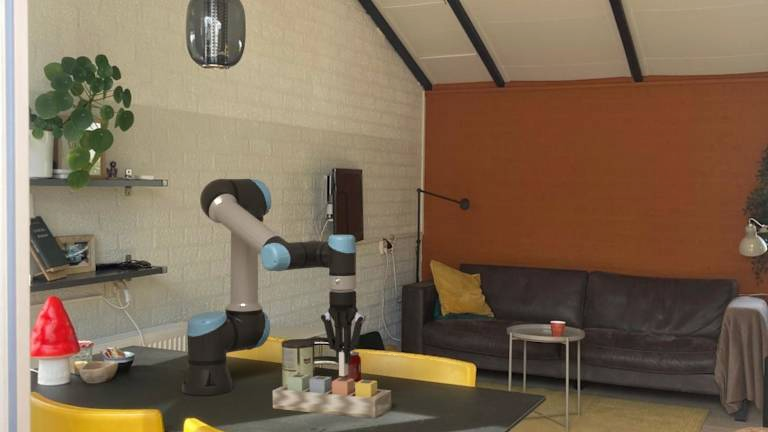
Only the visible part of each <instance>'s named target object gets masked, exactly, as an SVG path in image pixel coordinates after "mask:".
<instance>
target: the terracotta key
mask: <svg viewBox="0 0 768 432" xmlns="http://www.w3.org/2000/svg"><path fill="white" fill-rule="evenodd" d="M353 392H354V379H348V378H339V377H338V378H336V379H334V380H332V394H334V395H345V396H348V395H350V394H352V393H353Z"/></svg>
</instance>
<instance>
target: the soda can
mask: <svg viewBox="0 0 768 432" xmlns="http://www.w3.org/2000/svg"><path fill="white" fill-rule="evenodd" d="M359 354H360V353H359V352H358V351H355V350H352V351H351V362H350V363H349V364H348V374H347V375H345V376H339V375H338V378H348V379H354V387H355V383H357V382H359V381H361V380H362V358H361V356H360V355H359Z"/></svg>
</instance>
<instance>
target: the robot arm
mask: <svg viewBox="0 0 768 432" xmlns="http://www.w3.org/2000/svg"><path fill="white" fill-rule="evenodd" d="M270 192H271V191H270V190H269V188H268V187H267V185H266V184H265V183H264V182H263V181H261V180H258V179H251V178H218V179H215V180H212V181H210V182H208V183H207V184H206V185H205V187H204V188H203V189H202V191H201V193H200V198H199V202H200V207H201V210H202V212H203V213H204V214H205V215H206V217H208V219H210V220H211V221H212V222H214V223H216V224H221V225H223V226H224V227H225V228H227V230H229V231H230V301H229V304H227V305H226V306H225V312H224V311H220V310H219V311H218V310H217V311H216V310H215V311H205V312H201V313H198V314H195V315H192V316H191V317H190V318H189V319H188V321H187V329H186V335H187V339H186V340H187V367H186V370H185V374H184V377H183V380H182V383H181V388H182V389H181V392H182V393H183V394H186V395H191V396H212V395H214V396H215V395H221V394H226V393H229V392H230V391H232V390H233V379H232V377H231V373H230V371H229V367H228V365H227V363H228V362H227V353H235V352H239V351H246V350H247V351H250V350H253V349H256V348H260V347H262V346H263V345H265V343H266V342H267V340H268V339H269V336H270V334H271V333H270V332H271V323H270V319H269V317H268V315H267V314H266V312H265V311H263V306H262V305H261V304H260V303H259V296H258V295H259V257H260V262H261V264H262V267H263V268H264V269H265V270H266V271H269V272H273V271H274V272H283V271H290V270H291V271H292V270H301V269H302V270H303V269H313V268H322V269H323V268H325V269H326V268H327V269H328V271H329V272H328V279H329V280H328V281H329V282H328V284H329V285H328V289H330V291H329V293H328V295H329V296H328V297H329V299H328V300H329V301H328V302H329V303H328V304H329V306H328V310H327V312H326V313H324V314H321V315H320V319H321V321H322V322H323V325H324V329H325V333H326V338H327V342H328V347H329V349H330V350H333V351H335V359H336V364H338V377H339V376H345V375H347V374H348V364H349V363H350V362H351V351H355V350H356V349H358V347H359V346H358V345H359V341H360V336H361V332H362V327H363V323H364V322H365V321H366V319H367V318H366V316H365V315H361V313H359V310H358V308H357V292H356V289H357V246H356V245H357V244H356V243H357V242H356V237H355V236H354V235H353V234H332V235H329V237H328V241H326V240H325V241H324V240H316V239H315V240H314V239H313V240H305V241H296V242H295V241H293V242H290V241H289V242H288V241H287V240H286V239H284V238H282V237H281V236H280V235H279V234H278V233H276V232H275V231H274V230H272V229H271V228H269V226H267V225H266V224H264V216H266V215H268V213H269V212H270V210H271V208H272V197H271V193H270ZM332 320H333V322H334V325H333V322H332ZM354 320H355V323H354V326H353V321H354ZM352 326H353V331H352Z"/></svg>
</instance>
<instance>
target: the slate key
mask: <svg viewBox="0 0 768 432" xmlns="http://www.w3.org/2000/svg"><path fill="white" fill-rule="evenodd" d="M332 381H333V380H332V376H322V375H315V377H313V378H311V379H310V392H313V393H326V392H328V391H330V390H332Z"/></svg>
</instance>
